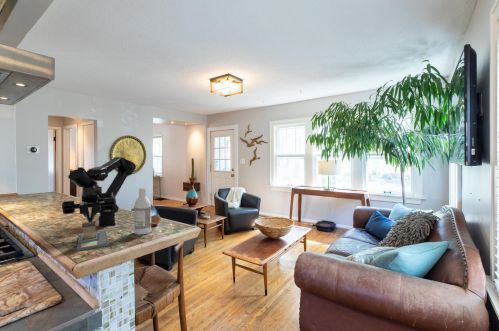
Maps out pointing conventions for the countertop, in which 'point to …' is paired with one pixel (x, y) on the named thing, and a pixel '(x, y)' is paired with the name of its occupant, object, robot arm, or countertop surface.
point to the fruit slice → (155, 220)
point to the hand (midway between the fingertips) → (90, 222)
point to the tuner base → (93, 241)
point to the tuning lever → (88, 230)
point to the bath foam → (142, 214)
